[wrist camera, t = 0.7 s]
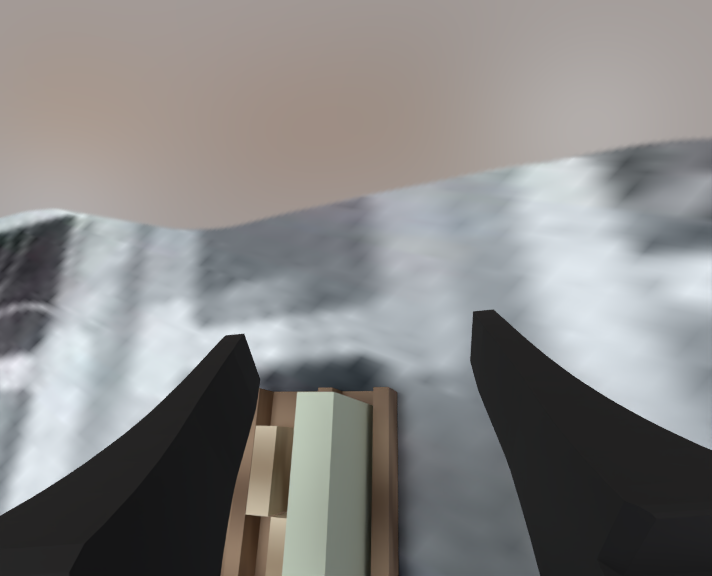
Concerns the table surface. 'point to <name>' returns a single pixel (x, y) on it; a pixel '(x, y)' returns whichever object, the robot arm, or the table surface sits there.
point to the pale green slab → (330, 487)
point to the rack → (252, 532)
